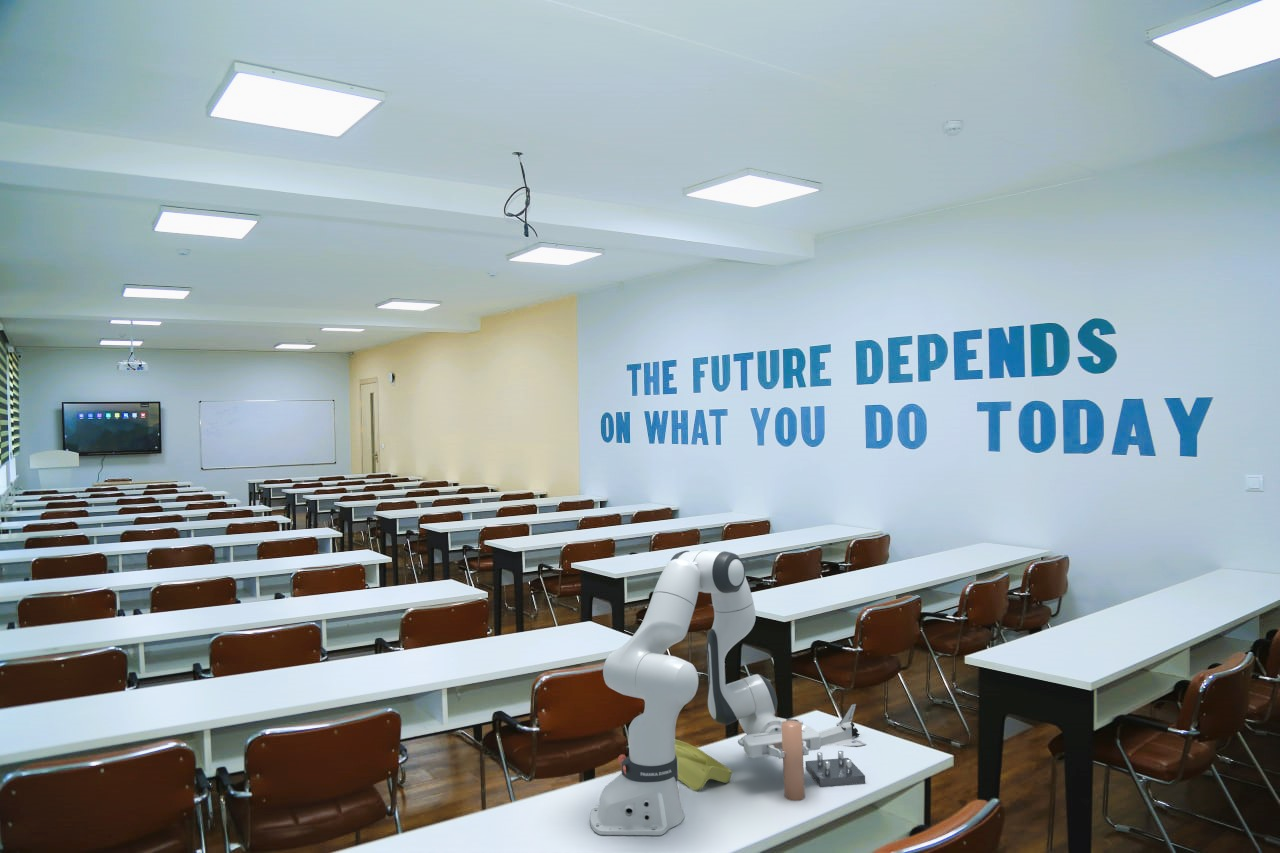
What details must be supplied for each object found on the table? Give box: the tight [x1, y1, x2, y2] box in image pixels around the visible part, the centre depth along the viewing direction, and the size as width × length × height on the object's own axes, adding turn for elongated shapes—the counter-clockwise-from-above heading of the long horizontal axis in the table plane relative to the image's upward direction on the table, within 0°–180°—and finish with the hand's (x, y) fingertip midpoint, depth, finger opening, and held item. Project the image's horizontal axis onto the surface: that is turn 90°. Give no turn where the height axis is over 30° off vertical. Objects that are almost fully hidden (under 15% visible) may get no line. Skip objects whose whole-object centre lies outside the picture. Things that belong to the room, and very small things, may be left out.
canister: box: [781, 720, 806, 802], centre depth 199 cm, size 5×5×18 cm
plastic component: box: [675, 738, 733, 792], centre depth 214 cm, size 20×7×10 cm
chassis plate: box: [804, 750, 866, 788], centre depth 210 cm, size 12×12×5 cm
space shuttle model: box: [817, 703, 867, 748], centre depth 234 cm, size 16×25×10 cm, turn 116°
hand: (794, 753), depth 198 cm, fingers closed on canister, 5 cm apart
